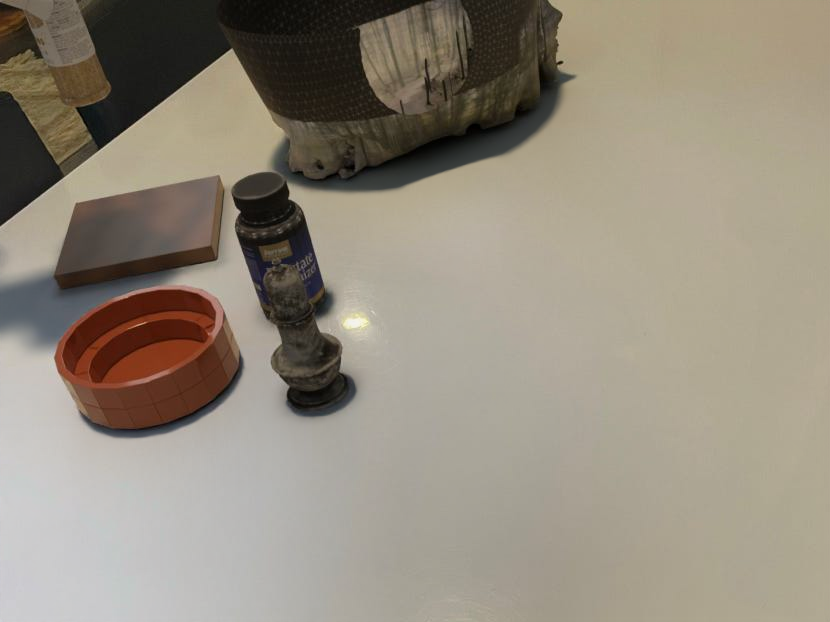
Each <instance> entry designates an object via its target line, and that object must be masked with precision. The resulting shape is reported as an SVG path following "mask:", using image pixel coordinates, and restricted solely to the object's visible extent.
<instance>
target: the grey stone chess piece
mask: <svg viewBox="0 0 830 622" xmlns="http://www.w3.org/2000/svg"><path fill="white" fill-rule="evenodd" d="M280 262H281V260H280V259H278V258H276V257H274V259H273V261H272V264H273V265H274V266H273V267H272V268H271V269H269V270H268V271H267V272H266V274H265V276H264V279H263V283H264V287H265V290H266V293H267V296H268V299H269V302H270V305H271V307H272V312H271V313H270V316H269V320H270V322H271V323H272V324H273V325H274V326H276V329H277V331H278V334H279V336H280V341H281V343H280V345H278V346H277V347H276V348H275V350H274V351H273V353H272V355H271V357H270V365H271V369H272V370H273V371H274V372H275V373H276V374H277V375H278V376H279V378H280V379H281V380H282V381H283V382H284V383H285V384H286V385H287V386H288V388H287V390H286V398H287V402H288V403H289V405H290V406H291V407H293V409H296V410H300V411H303V412H315V411H322V410H324V409H328V408H330V407H332V406H334V405H337V404H338V403H339V402H340V401H342V400H343V399H344V397H345V396H346V395H347V394H348V392H349V390H350V381H349V379H348V377H347V376H346V375H345V374H344V373H343V372H340V370H341V364H342V354H343V350H344V349H343V348H344V347H343V344H342V342H341V340H340V339H339V338H337V336H334V335H333V334H330V333H327V332H322V331H320V328H319V327H318V324H317V323H318V322H317V320H316V317H315V314H316V311H317V309H316V306H315V304H314V303H313V302H312V301H310V300H308V297H307V294H306V290H305V287H304V284H303V281H302V277H301V274H300V272H299V271H298V269H297V268H295V267H294V266H292V265H287V264H280Z"/></svg>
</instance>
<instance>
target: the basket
mask: <svg viewBox="0 0 830 622" xmlns="http://www.w3.org/2000/svg"><path fill="white" fill-rule="evenodd" d="M563 16H564V14H563V12H562V11H560V10H559V9H558V8H556V7H554V6H553V5H552V3H551V2H550V1H549V0H220V2H219V3H218V5H217V6H216V10H215V18H216V20H217V22H218V25H219V27H220V28H221V30H222V32H223V34H224V36H225V38H226V40H227V42H228V44H229V45H230V47H231V49H232V51H233V52H234V54H235V56H236V58H237V59H238V61H239V63H240V65H241V67H242V69H243V70H244V72H245V74H246V76H247V77H248V79H249V81H250V83H251V85H252V86H253V88H254V90H255V92H256V93H257V95H258V96H259V98H260V99H261V101H262V103H263V105H264V106H265V108H266V109H267V112H268V113H269V114H270V117H271V119H272V122H273V123H274V124H275V125H276V126H277V127H279V128H280V129H281V130H282V131H283V132H284V133H285V135H286V136H287V137H288V140H289V142H290V143H289V149H288V152H287V153H286V155H285V157H284V160H285V161H286V162H288V168H290V171H291V172H292V173H296V172H303V175H304V177H306V178H307V179H312V180H324V179H326V177H328V176H331V175H334V174H338V175H339V176H340V179H349V178H351V177H352V176H354V175H355V174H356V173H359V171H361V170H363V169H364V168H365V167H377V166H380V165H381V164H383V163H385V162H388V161H390V160H393V159H396V158H399V157H400V156H403V155H406V154H408V153H410V152H412V151H414V150H415V149H418V148H419V147H421V146H423V145H426V144H428V143H430V142H433V141H436V140H438V139H441V138H444V137H449V136H457V137H459V136H464V135H466V134H467V132H466V131H467V129H468V128H469V126H471V125H473V124H477V125H479V127H480V129H483V130H484V129H488V128H493V127H496V126H500V125H502V124H505V123H508V122H511V121H512V120H514V119H515V113H516V111H517V110H519V111H521V112H524V111H526V110H531V109H532V108H533V107H534V106H535V105H536V104H537V103H538V102H539V100H540V96H541V84H551V83H555V82H556V81H557V80H558V76H557V72H556V71H557V70H558V66H561V65H562V64H564V60H559V61H557V53H558V52H559V47H560V44H559V42H558V39H557V36H558V30H559V28H560V27H559V25H560V23H561V22H562V19H563ZM352 166H354V169H352V168H350V167H352Z"/></svg>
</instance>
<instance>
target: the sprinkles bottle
mask: <svg viewBox="0 0 830 622" xmlns="http://www.w3.org/2000/svg"><path fill="white" fill-rule="evenodd" d="M22 12H23V14H24V17H25V18H26V21H27V23H28V26H29V28H30V30H31V33H32V35H33V37H34V39H35V42H36V45H37V47H38V49H39V52H40V53H41V55H42V58H43V60H44V62H45V64H46V65H47V68H48V70H49V73H50V75H51V77H52V78H53V81H54V83H55V86H56V89H57V91H58V93H59V99H60V101H61V103H62V104H63V105H65V106H67V107H69V108H80V107H81V108H82V107H85V106H89V105H92V104H95V103H99V102H101V101H102V100H105V98H106V97H108V95H110V93H111V90H112V86H111V84H110V82H109V81H108V80H107V78H106V74H105V73H104V71H103V68H102V65H101V63H100V60H99V58H98V55H97V53H96V48H95V44H94V43H93V40H92V37H91V35H90V33H89V30H88V27H87V24H86V21H85V20H84V16H83V15H82V12H81V9H80V7H79V4H78V2H77V0H55V6H54V9H53V11H52V14H51V17H50V19H49V20H47V21H43V20H41V19H39V18H38V17H36V16H34V15H33V14H31V13H30V12H28V11H26V10H23V9H22Z"/></svg>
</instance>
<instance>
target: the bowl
mask: <svg viewBox="0 0 830 622" xmlns="http://www.w3.org/2000/svg"><path fill="white" fill-rule="evenodd" d="M53 360H54V363H55V366H56V371H57V373H58V375H59V377H60V378H61V380H62V382H63V383H64V386H65V387H66V389H67V390H68V392H69V394H70V396H71V397H72V399H73V401H74V403H75V405H76V406H77V408H78V410H79V411H80V413H81V414H83V415H84V416H85V417H86V418H87V419H88V420H90V422H92V423H93V424H94V423H95V424H97V425H100V426H104V427H107V428H110V429H118V430H119V429H120V430H122V429H124V430H138V429H145V428H148V427H154V426H161V425H163V424H167V423H170V422H172V421H175V420H177V419H180V418H183V417H185V416H188V415H190V414H192V413H194V412H196V411H197V410H199V409H200V408H202V407H204V406H205V405H207V404H209V403H210V402H212V401H213V400H214V399H215V398H216V397H217V396H219V394H221V392H223V390H225V389H226V388H227V386H228V385H230V383H231V382H232V380H233V378H234V376H235V374H236V373H237V371H238V369H239V367H240V348H239V345H238V343H237V340H236V338H235V335H234V333H233V331H232V327H231V325H230V323H229V320H228V318H227V315H226V312H225V310H224V308H223V306H222V304H221V303H220V300H219V299H218V298H217V297H216V296H214V295H212V294H211V293H209V292H208V291H206V290H204V289H202V288H198V287H193V286H188V285H185V284H184V285H182V284H179V285H173V284H172V285H156V286H150V287H145V288H140V289H136V290H132V291H130V292H127V293H124V294H122V295H119V296H115V297H113V298H111V299H109V300H107V301H105V302H103V303H101V304H100V305H98V306H96V307H94V308H92V309H90V310H88V311H87V312H85V313H84V314H83V315H82V316H81V317H79V318H78V319H77V320H76V321H75V322H74V323H72V324H71V325H70V326H69V328H68V329H67V330H66V331H65V332H64V334H63V335H62V337H61V338H60V339H59V341H58V343H57V346H56V349H55V353H54V356H53Z"/></svg>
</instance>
